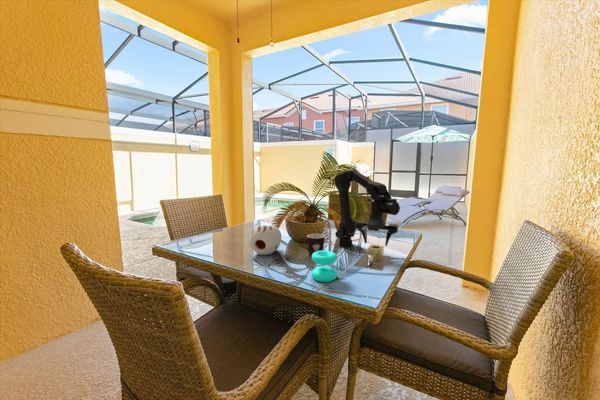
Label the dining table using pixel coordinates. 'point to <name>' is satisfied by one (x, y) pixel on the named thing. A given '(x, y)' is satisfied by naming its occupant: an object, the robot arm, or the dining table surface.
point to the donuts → (323, 272)
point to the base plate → (375, 264)
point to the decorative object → (265, 239)
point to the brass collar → (376, 251)
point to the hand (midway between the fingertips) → (375, 244)
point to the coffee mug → (314, 243)
